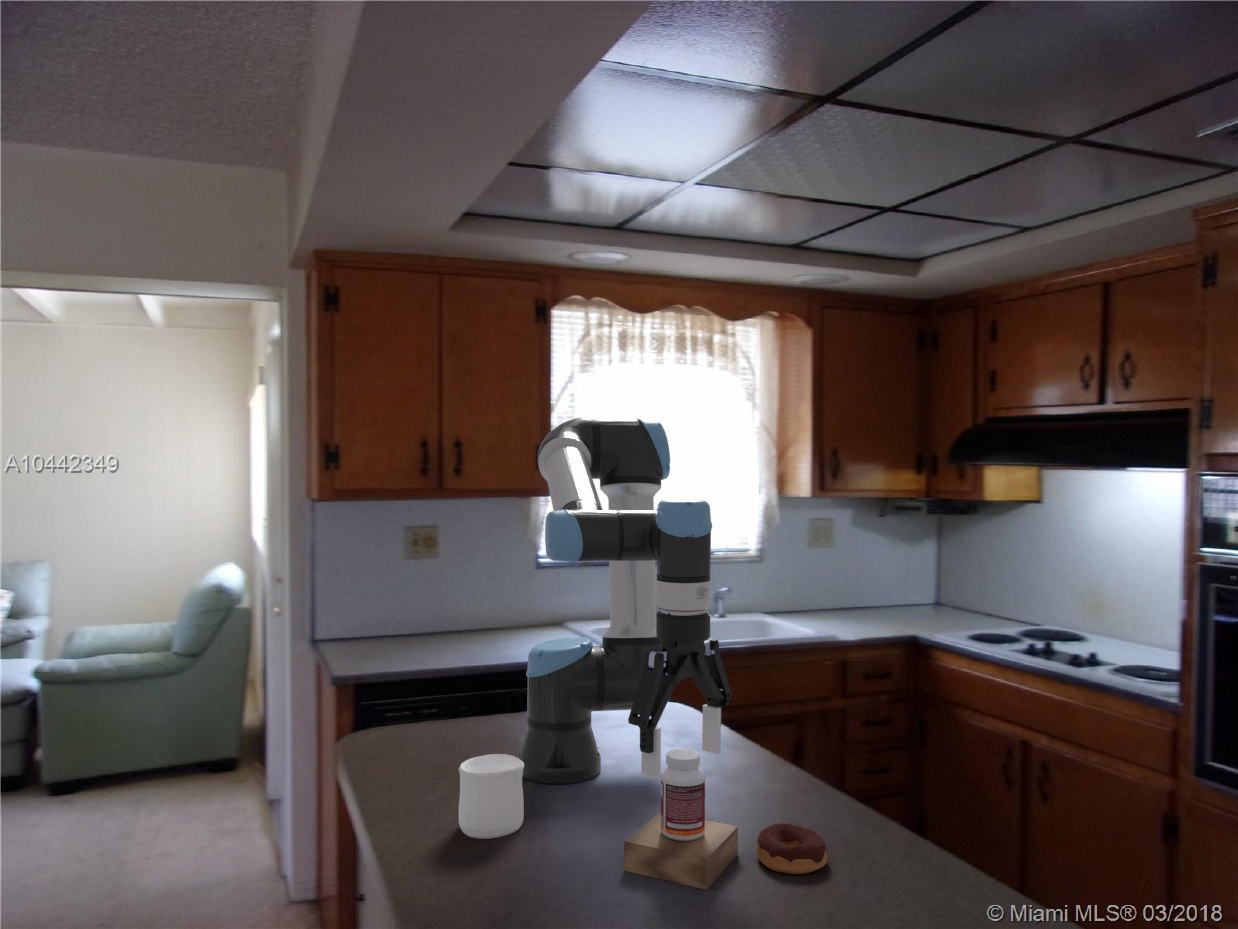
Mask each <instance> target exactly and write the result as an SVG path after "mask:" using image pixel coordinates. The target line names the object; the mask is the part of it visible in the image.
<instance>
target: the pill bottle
mask: <svg viewBox="0 0 1238 929" xmlns="http://www.w3.org/2000/svg"><path fill="white" fill-rule="evenodd" d="M665 754H666V756H665V763H666V765H667V766H666V767H665V768H663V770H662V771H661V777H660V812H661V832H662V834H663V835H664V836H666V837H668V838H670V839H673V840H678V841H691V840H695V839H698V838H700V837H702V836H703V834H704V832H705V820H706V775H705V772H704V771H703V769H701V768H700V764H701V758H700V757H701V755H700V753H699V752H698V751H695V750H694V749H693V750H691V749H688V748H687V749H684V748H681V749H680V748H679V749H671V750H669V751H667V752H666V753H665Z"/></svg>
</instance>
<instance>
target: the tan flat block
mask: <svg viewBox="0 0 1238 929" xmlns="http://www.w3.org/2000/svg"><path fill="white" fill-rule="evenodd" d="M738 827H739V826H736V825H732V824H727V823H722V822H716V821H712V820H711V821H710V820H706V819H705V832H704V834H703V836H702V837H700V838H698V839H695V840H691V841H678V840H673V839H670V838H668V837H666V836H664V835H663V834H662V832H661V811H660V812H658V813H657V814H656V815H655V816H653V817H652V818H651V819H649V820H648V821H647V822H646V823H645V824H643V825H642V827H639V829H638V830H636V831H635V832H633V834H631V835H630V836H629V837H628V838H626V839H625V840H624V843H623V845H624V846H623V847H624V848H623V850H624V851H623V854H624V855H623V856H624V858H623V859H624V860H623V871H625V872H628V873H629V872H630V873H633V874H637V875H642V876H645V877H650V878H654V879H659V880H663V881H667V882H672V883H674V884H675V883H676V884H680V885H683V886H684V885H685V886H689V887H692V888H698V889H701V890H705V891H707V890H708V889H709V888H710V887H711V885H712V884H713V883H714V882H715V881H716V880H717V879H718V878H719V876H721V874H722V873H723V872H724V871H725V870H726V869H727V867H728V866H729V865H730V864H731V862H733V861H734V860H735V859H736V858H737V856H738V855H739V849H738V848H739V847H738V846H739V845H738V844H739V842H738V841H739V832H738V831H739V828H738Z"/></svg>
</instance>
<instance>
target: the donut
mask: <svg viewBox="0 0 1238 929" xmlns="http://www.w3.org/2000/svg"><path fill="white" fill-rule="evenodd" d="M756 846H757V849H756V856H757V858H758V860H759V861H760V862H761V863H762V864H763V865H764V866H765V867H766V868H768V869H770V870H772V871H774V872H779V873H785V874H791V875H806V874H810V873H812V872H815V871H818V870H819V869H820V870H821V869H822V868H823V867H825V866H826V864H827V863H828V853H827V845H826V842H825V841H824V839H823V837H822V836H820V835H819V833H817V832H815V831H814V830H812V829H811V828H806V827H802V826H798V825H794V824H791V823H785V822H784V823H783V822H782V823H775V824H772V825H770V826H767V827H765V828H764V829H762V830H760V833H759V834H758V837H757V840H756Z"/></svg>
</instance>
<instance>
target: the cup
mask: <svg viewBox="0 0 1238 929" xmlns="http://www.w3.org/2000/svg"><path fill="white" fill-rule="evenodd" d="M523 769H524V763H523V761H522V760H520V759H518V756H517V757H516V756H514V755H511V754H505V753H504V754H503V753H494V754H493V753H491V754H489V753H488V754H484V755H479V756H475V757H471V758H469V759H466V760H465V761H463V762H461V764H460V766H459V768H458V772H459V799H458V801H459V802H458V825H459V828H460V830H461V832H462V833H463V834H464V835H466V836H467V837H469V838H473V839H481V840H483V839H484V840H488V839H489V840H490V839H495V838H500V837H505V836H507V835H510V834H513V833H516V832H517V831H518V830H519V829H520V828H521V827H522V825H523V822H524V818H525V817H524V816H525V815H524V812H525V809H524V808H525V806H524V805H525V804H524V803H525V802H524V790H523V777H522V776H523Z"/></svg>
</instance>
